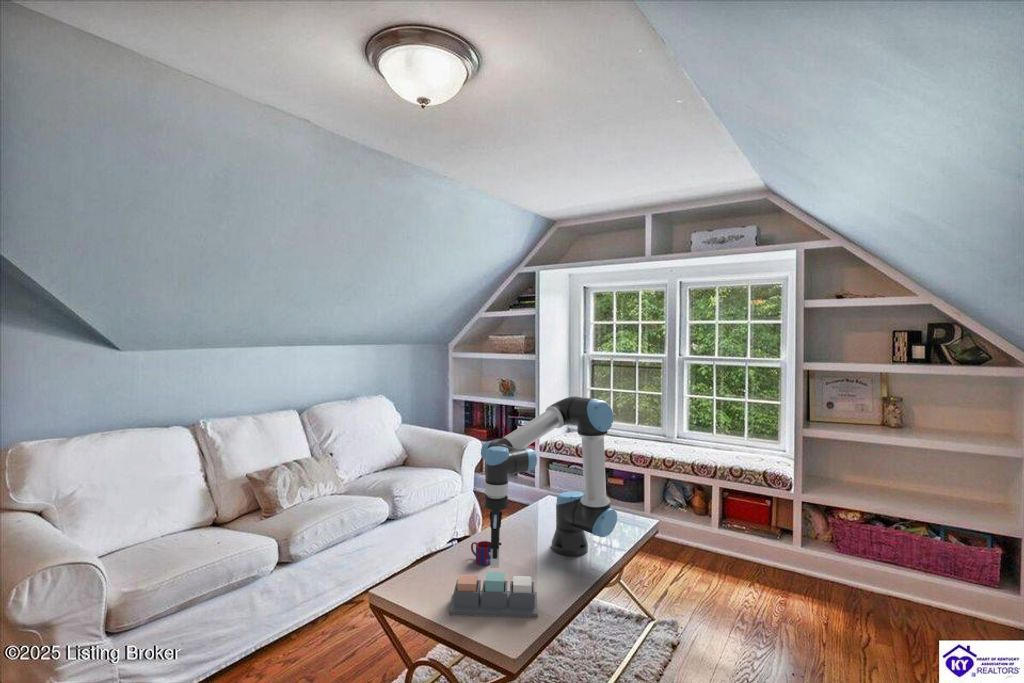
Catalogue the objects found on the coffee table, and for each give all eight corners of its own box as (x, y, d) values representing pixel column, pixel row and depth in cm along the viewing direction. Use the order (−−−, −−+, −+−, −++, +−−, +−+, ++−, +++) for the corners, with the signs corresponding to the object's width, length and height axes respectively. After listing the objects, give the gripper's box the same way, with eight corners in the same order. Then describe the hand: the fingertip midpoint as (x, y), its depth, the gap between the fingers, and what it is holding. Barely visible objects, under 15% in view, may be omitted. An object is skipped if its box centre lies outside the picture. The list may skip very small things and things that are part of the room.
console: (536, 595, 164) (536, 577, 164) (537, 617, 151) (538, 598, 151) (454, 593, 165) (455, 575, 165) (449, 615, 152) (449, 596, 152)
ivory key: (531, 591, 161) (531, 576, 161) (531, 601, 155) (531, 585, 155) (513, 591, 161) (513, 575, 161) (512, 601, 155) (513, 585, 155)
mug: (483, 567, 183) (484, 549, 183) (466, 559, 190) (466, 541, 190) (496, 561, 188) (496, 544, 188) (479, 553, 195) (479, 537, 195)
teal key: (504, 587, 161) (504, 572, 161) (503, 597, 155) (503, 581, 155) (486, 587, 161) (486, 571, 161) (485, 596, 155) (485, 580, 155)
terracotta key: (477, 590, 161) (477, 574, 161) (475, 600, 155) (475, 584, 155) (459, 589, 161) (459, 574, 161) (457, 599, 155) (457, 583, 155)
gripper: (486, 488, 164) (484, 557, 164) (483, 501, 151) (481, 576, 151) (508, 489, 164) (506, 557, 164) (507, 502, 151) (505, 576, 151)
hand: (494, 566), depth 158 cm, fingers closed
